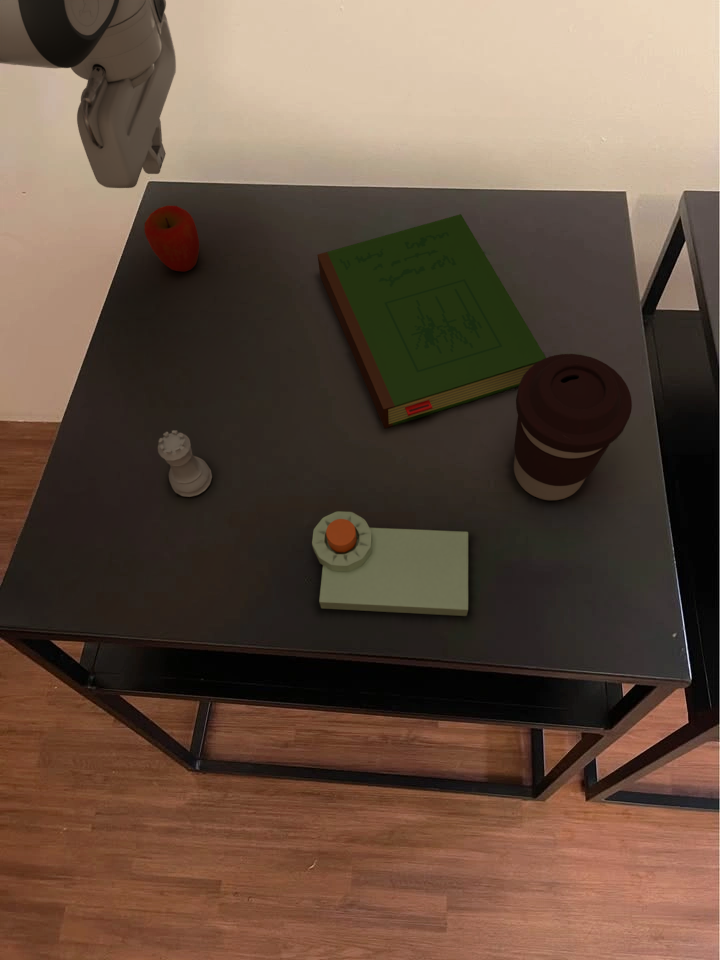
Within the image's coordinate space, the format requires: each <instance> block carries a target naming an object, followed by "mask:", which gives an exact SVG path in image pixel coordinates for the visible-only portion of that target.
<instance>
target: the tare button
mask: <svg viewBox="0 0 720 960" xmlns="http://www.w3.org/2000/svg"><path fill="white" fill-rule="evenodd" d="M326 536H327V540H328V544H329V546H330V548H331V549H332V550H334V551H336V552H339V553H344V552H348V551H350V550H351V549H352V548H353V547H354V546H355V544H356V541H357V537H356V530H355V527H354V525H353V524H352V523H351V522H350V521H348V520H346V519H337V520H334V521H333V522H331V523H330V524H329V526H328V527H327V530H326Z"/></svg>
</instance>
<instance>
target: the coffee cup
mask: <svg viewBox="0 0 720 960" xmlns="http://www.w3.org/2000/svg"><path fill="white" fill-rule="evenodd" d="M517 388H518V389H517V393H516V398H515V409H516V413H517V420H516V426H515V427H516V428H515V435H514V436H515V437H514V445H513V449H514V461H513V473H514V476H515V478H516V481H517V482H518V484H519V485H520V487H521V488H522V489H523V490H524V491H525V492H527V493H528V494H530V495H531V496H533V497H536V498H537V499H540V500H544V501H559V500H564V499H566V498H568V497H571V496H572V495H574V494H575V493H577V491H578V490H580V488H581V487H582V485H583V484H584V482H585V480H586V479H587V477H589V476H590V475H591V474H592V473H593V471H594V470H595V468H596V467H597V465H598V463H599V462H600V460H601V459H602V458H603V456H604V454H605V453H606V451H607V449H608V448H609V447H610V445H611V443H613V442H614V441H616V440H617V439H618V438H619V437H620V435H621V434H622V433H623V431H624V430H625V428H626V426H627V424H628V421H629V419H630V417H631V415H632V414H631V413H632V408H633V401H632V395H631V392H630V389H629V387H628V384H627V383H626V381H625V380H624V379H623V377H622V376H621V375H620V374H619V373H618V371H616V370H615V369H614V368H612V366H610V365H608V364H607V363H605V362H603V361H602V360H599V359H597V358H595V357H592V356H588V355H583V354H576V353H560V354H554V355H550V356H548V357H546V358H545V359H543V360H541V361H539V362H537V363H536V364H534V365H533V366H532V367H531V368H530V369H528V371H527V372H526V373H525V374H524V376H523V377H522V379H521V382H520V384H519V387H517Z"/></svg>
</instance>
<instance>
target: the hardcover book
mask: <svg viewBox="0 0 720 960" xmlns="http://www.w3.org/2000/svg"><path fill="white" fill-rule="evenodd" d="M317 262H318V263H317V264H318V269H319V276H320V280H321V282H322V284H323V286H324V290H325V291H326V294H327V297H328V299H329V300H330V303H331V305H332V308H333V310H334V313H335V315H336V317H337V319H338V322H339V324H340V326H341V329H342V332H343V334H344V336H345V338H346V341H347V343H348V346H349V348H350V351H351V353H352V355H353V357H354V360H355V361H356V362H355V363H356V365H357V367H358V369H359V372H360V374H361V377H362V379H363V381H364V384H365V386H366V388H367V391H368V393H369V395H370V397H371V401H372V402H373V404H374V407H375V410H376V412H377V415H378V417H379V419H380V422H381V424H382V426H383V429H388V428H391V427H394V426H397V425H401V424H404V423H407V422H410V421H413V420H417V419H420V418H423V417H426V416H430V415H433V414H436V413H439V412H442V411H446V410H449V409H451V408H455V407H458V406H461V405H465V404H468V403H471V402H475V401H478V400H481V399H484V398H487V397H490V396H493V395H497V394H500V393H502V392H507V391H509V390H513V389H516V388H519V384H520V382H521V379H522V377H523V376H524V374H525V373H526V372H527V371H528V369H530V368H531V367H532V366H533V365H534V364H536V363H537V362H539V361H541V360H543V359H545V358H547V356H546V355H545V353H544V352H543V349H542V348H541V346H540V345H539V343H538V341H537V340H536V338H535V336H534V334H533V333H532V331H531V330H530V327H528V325H527V322H526V321H525V319H524V318H523V316H522V314H521V313H520V311H519V309H518V308H517V306H516V303H515V302H514V301H513V299H512V298H511V296H510V294H509V292H508V290H507V288H506V287H505V286H504V284H503V283H502V281H501V278H499V275H498V274H497V272H496V271H495V269H494V267H493V265H492V264H491V262H490V260H489V259H488V257H487V255H486V253H485V252H484V251H483V249H482V247H481V245H480V244H479V242H478V240H477V239H476V236H475V235H474V233H473V232H472V230H471V229H470V227H469V225H468V224H467V222H466V220H465V218H464V216H463V215H462V214H461V213H459V214H456V215H453V216H449V217H446V218H442V219H439V220H435V221H432V222H428V223H425V224H420V225H416V226H414V227H410V228H407V229H403V230H400V231H399V230H398V231H395V232H392V233H388V234H385V235H381V236H378V237H375V238H371V239H368V240H363V241H361V242H356V243H354V244H349V245H346V246H343V247H339V248H335V249H331V250H328V251H325V252H322V253H318V254H317Z"/></svg>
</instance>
